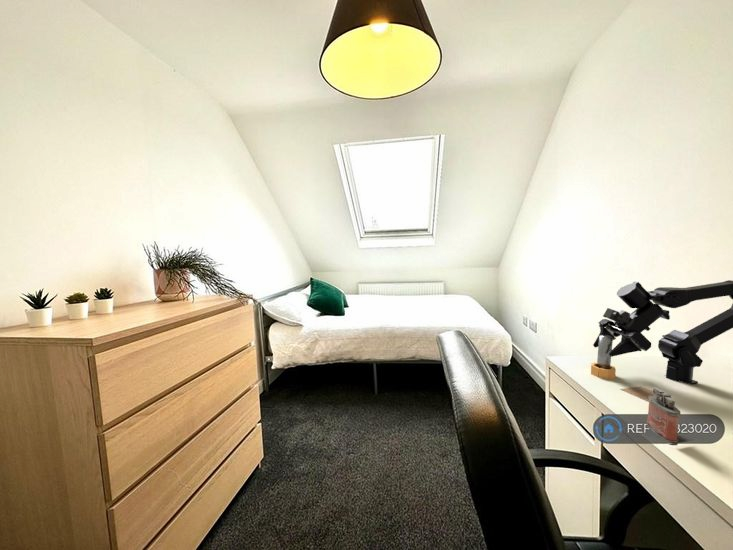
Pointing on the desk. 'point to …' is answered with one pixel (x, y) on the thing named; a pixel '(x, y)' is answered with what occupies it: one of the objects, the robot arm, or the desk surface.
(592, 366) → the socket plate
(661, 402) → the lighter
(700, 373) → the desk surface
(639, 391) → the board
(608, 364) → the steel peg
